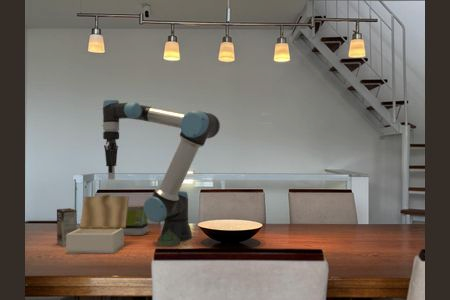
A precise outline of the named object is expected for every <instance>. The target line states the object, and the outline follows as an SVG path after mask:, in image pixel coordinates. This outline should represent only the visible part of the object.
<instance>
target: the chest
mask: <svg viewBox="0 0 450 300" xmlns="http://www.w3.org/2000/svg"><path fill="white" fill-rule="evenodd" d="M124 246H125V235H124V229H123V228H120V229H80V228H78V229H77V230H75V231H73V232H70V233H68V234H66V246H65V249H66V253H65V254H67V255H68V254H70V255H71V254H76V255H77V254H84V255H86V254H87V255H88V254H95V255H96V254H100V255H101V254H103V255H104V254H105V255H106V254H115V253H116V252H118V251H119V250H120V249H122V248H123V247H124Z"/></svg>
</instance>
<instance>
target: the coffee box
mask: <svg viewBox="0 0 450 300" xmlns="http://www.w3.org/2000/svg"><path fill="white" fill-rule="evenodd" d="M77 211H78V210H76V209H74V208H57V209H56V233H57V234H56V241H57V244H58V245H59V246H61V247H63V248H64V247H65V248H66V234H68V233H70V232H73V231H75V230H77V221H78V220H77V218H78V217H77V216H78V215H77Z"/></svg>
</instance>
